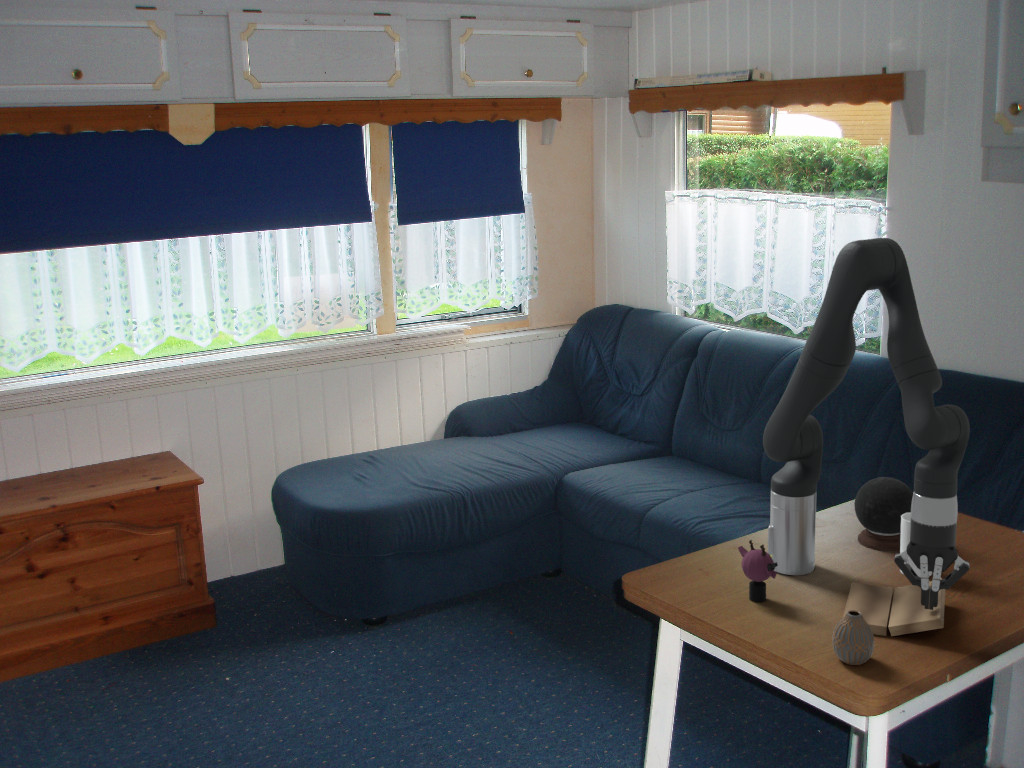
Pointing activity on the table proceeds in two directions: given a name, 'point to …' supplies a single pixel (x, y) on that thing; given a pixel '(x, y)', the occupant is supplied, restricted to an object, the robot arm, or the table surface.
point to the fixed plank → (871, 605)
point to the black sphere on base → (882, 512)
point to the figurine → (757, 570)
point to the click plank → (914, 611)
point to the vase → (853, 639)
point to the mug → (907, 540)
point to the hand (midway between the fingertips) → (929, 607)
